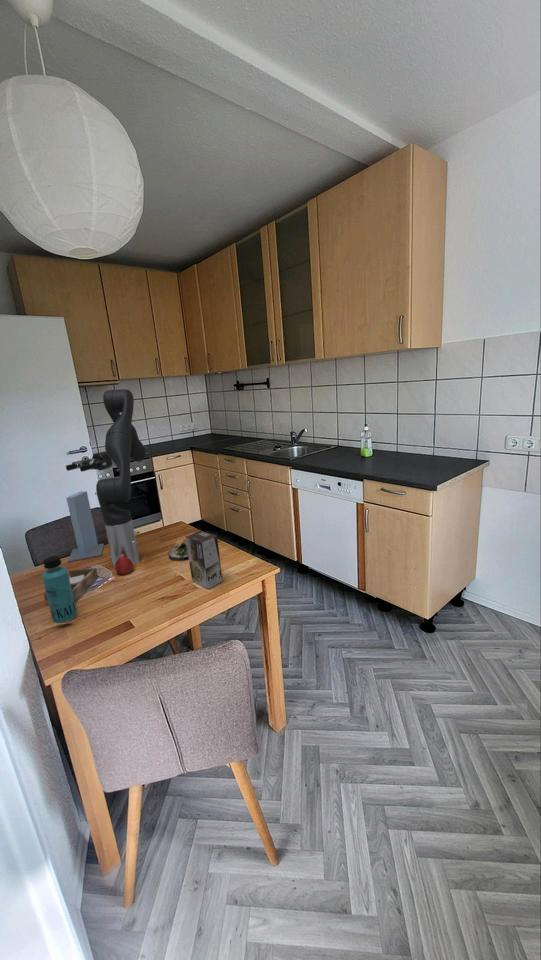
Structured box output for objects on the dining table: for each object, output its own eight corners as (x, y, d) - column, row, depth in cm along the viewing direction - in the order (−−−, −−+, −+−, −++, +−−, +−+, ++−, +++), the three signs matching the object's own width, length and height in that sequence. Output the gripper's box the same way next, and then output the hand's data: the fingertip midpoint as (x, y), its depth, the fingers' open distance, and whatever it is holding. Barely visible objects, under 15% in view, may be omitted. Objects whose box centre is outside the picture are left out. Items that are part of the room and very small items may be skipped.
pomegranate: (118, 581, 130) (113, 560, 128) (116, 574, 135) (112, 553, 133) (135, 576, 132) (131, 555, 130) (133, 569, 137) (129, 549, 135)
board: (92, 545, 160) (80, 491, 154) (98, 546, 160) (86, 491, 154) (79, 554, 153) (66, 497, 147) (85, 554, 152) (72, 497, 146)
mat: (104, 544, 162) (103, 543, 162) (101, 556, 151) (101, 554, 151) (73, 550, 159) (72, 549, 159) (68, 562, 148) (67, 561, 148)
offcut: (65, 584, 128) (64, 579, 127) (85, 579, 130) (84, 574, 130) (65, 591, 123) (63, 586, 123) (85, 586, 126) (84, 580, 125)
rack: (73, 582, 132) (70, 569, 130) (98, 581, 131) (96, 568, 130) (46, 609, 116) (42, 595, 115) (74, 608, 116) (71, 593, 115)
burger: (184, 564, 139) (181, 545, 137) (161, 558, 145) (158, 540, 144) (206, 550, 149) (203, 533, 147) (184, 545, 155) (181, 528, 153)
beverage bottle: (60, 616, 112) (44, 554, 107) (83, 613, 113) (68, 551, 108) (49, 630, 106) (32, 565, 101) (74, 627, 106) (58, 562, 101)
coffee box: (223, 581, 125) (218, 535, 120) (208, 589, 120) (201, 542, 116) (206, 573, 131) (200, 529, 127) (191, 581, 126) (184, 536, 122)
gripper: (93, 451, 169) (60, 459, 155) (116, 451, 162) (83, 459, 148) (97, 467, 171) (64, 476, 157) (119, 468, 164) (87, 478, 150)
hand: (73, 468), depth 153 cm, fingers open, 8 cm apart
